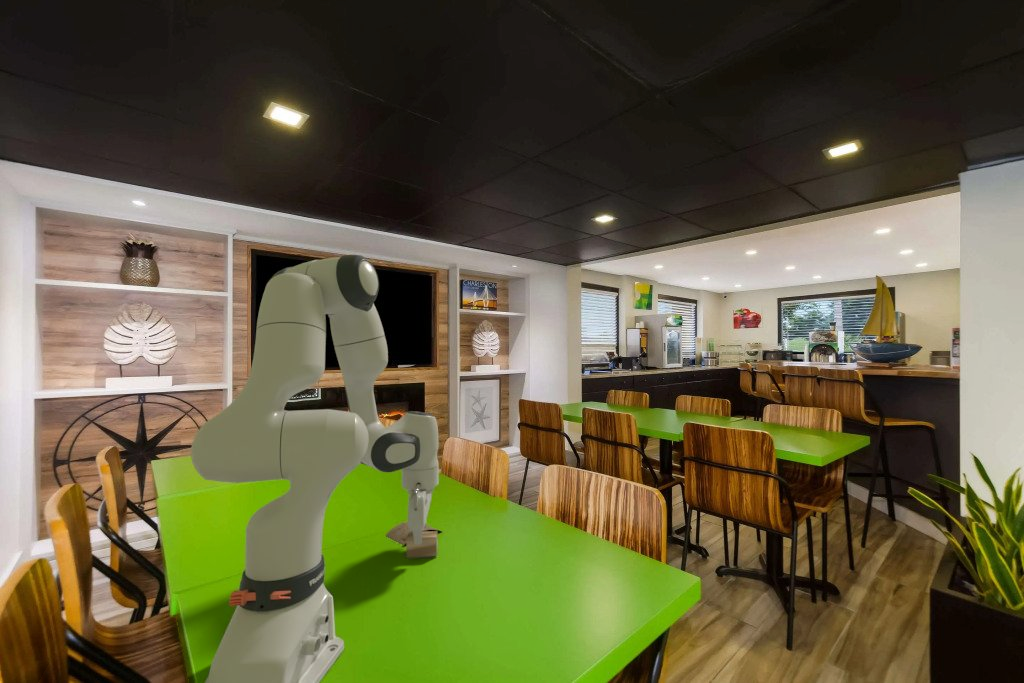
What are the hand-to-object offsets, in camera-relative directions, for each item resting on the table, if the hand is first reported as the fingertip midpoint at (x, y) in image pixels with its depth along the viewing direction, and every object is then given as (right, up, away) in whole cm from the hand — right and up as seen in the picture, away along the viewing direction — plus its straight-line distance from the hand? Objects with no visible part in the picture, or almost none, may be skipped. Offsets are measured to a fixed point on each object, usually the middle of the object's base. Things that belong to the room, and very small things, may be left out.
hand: (420, 534), depth 107 cm
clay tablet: (-4, -6, +12) cm, 14 cm away
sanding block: (+1, -5, -1) cm, 5 cm away
